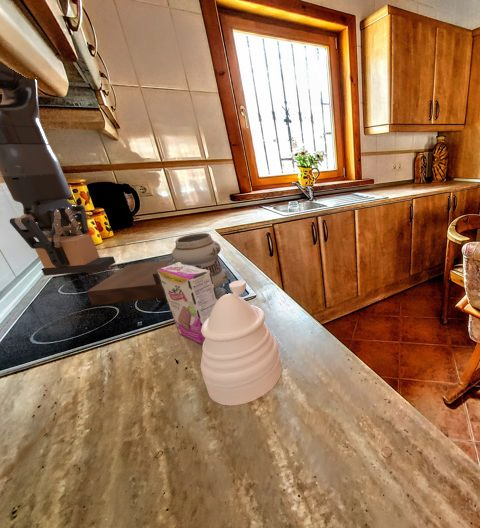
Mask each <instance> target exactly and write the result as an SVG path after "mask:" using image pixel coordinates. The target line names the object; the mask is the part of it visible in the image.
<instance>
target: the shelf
mask: <svg viewBox="0 0 480 528" xmlns="http://www.w3.org/2000/svg"><path fill="white" fill-rule="evenodd" d="M175 263H178V262H177V261H175V260H174V259H173V258H172V257H171V258H170V259H169V260H160V261H148V262H139V263H129V264H127V265H125V266H123V268H120V269H119V270H117V271H116V272H114V273H113V274H111V275H109V276H108V277H106V278H105V279H103V280H102V281H101V282H99V283H97V284H96V285H93V287H91V288H89V289H87V290H86V294H87V296H88V299H89V301H90V303H91V306H101V305H109V304H119V303H127V302H137V301H146V300H154V299H161V301H160V302H158V304H159V305H161V304H168V301H167V298H166V295H165V292H164V289H163V286H162V283H161V280H160V277H159V274H158V272H157V270H158V269H160V268H162V267H166V266H168V265H172V264H175Z"/></svg>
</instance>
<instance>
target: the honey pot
mask: <svg viewBox="0 0 480 528" xmlns="http://www.w3.org/2000/svg"><path fill="white" fill-rule="evenodd" d="M228 287H229V289H230V292H231V293H228V294H225V295H223V296H222V297H220V298H219V299H218V301H217V302H216V303H215V305H214V307H213V309H212V311H211V314H210V317H209V318H208V319H207V320H206V321H205V322H204V323H203V325H202V328H201V332H202V335H203V336H204V337H205V341H204V342H203V345H202V347H201V350H202V353H201V359H200V365H199V366H200V368H199V369H200V371H201V374H202V378H203V382H204V384H205V387H206V391H207V394H208V397H209V398H210V399H211V400H212V401H213V402H214V403H217V404H218V405H222V406H239V405H240V406H241V405H244V404H248V403H250V402H254V401H255V400H258V399H260V398H261V397H263V396H264V395H266V394H268V392H270V391H271V390H272V389H273V388H274V387H275V386H276V385H277V383H278V382H279V380H280V378H281V376H282V371H283V365H282V360H281V355H280V350H279V349H280V348H279V344H278V341H277V339H276V338H275V336H274V335H273V333H272V332H271V330H270V328H269V326H268V325H267V323H265V320H266V315H265V311H264V310H263V309H262V308H260V307H259V306H256V305H252V304H250V303H249V302H248V301H247V300H245V299H244V298H243V297H242V296H240V295H242V294H244V292H245V291H246V289H247V281H246V280H243V279H239V280H234V281H232V282H230V283H229V284H228Z"/></svg>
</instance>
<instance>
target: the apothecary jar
mask: <svg viewBox="0 0 480 528" xmlns="http://www.w3.org/2000/svg"><path fill="white" fill-rule="evenodd" d="M174 244H175V247H174V248H173V250H172V251H171V259H172V258H173V259H174V260H175V261H177V262H180V263H184V264H187V265H191V266H194V267H198V268H202V269H205V270H209V271H210V274H211V277H212V282H213V285H214V289H215V293H216V297H217V300H218V299H219V298H220V297H222V296H223V295H225V294H227V293H228V294H229V292H228V289H226V288H224V287H222V286H223V285H225V284H226V282H227V280H228V278H229V273H228V271H227V270H226V269H225V268H223V267H222V265H221V262H220V259H219V254H220V252H221V250H222V247H221V245H220V243H218V242H217V241H215V240H213V238H212V235H211V234H210V233H209V232H208V233H207V232H201V233H200V232H199V233H192V234H187V235H184V236H181V237H178V238H176V239H175V242H174Z"/></svg>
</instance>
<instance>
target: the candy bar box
mask: <svg viewBox="0 0 480 528" xmlns="http://www.w3.org/2000/svg"><path fill="white" fill-rule="evenodd" d="M157 272H158V274H159V277H160V280H161V283H162V286H163V289H164V292H165V295H166V298H167V301H168V302H167V304H168V306H169V309H170V312H171V315H172V318H173V321H174V324H175V328H176V331H177V333H178V335H180V336H183V337H184V338H186V339H189V340H191V341H193V342H195V343H197V344H199V345H201V346H203V342H204V341H205V337H204V336H203V335H202V332H201V328H202V325H203V323H204V322H205V321H206V320H207V319H208V318H209V317H210V314H211V311H212V309H213V307H214V305H215V303H216V302H217V301H218V300H217V297H216V293H215V289H214V285H213V282H212V277H211V274H210V271H209V270H205V269H202V268H198V267H194V266H191V265H187V264H184V263H180V262H178V263H175V264H172V265H168V266H166V267H162V268H160V269H158V270H157Z"/></svg>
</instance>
